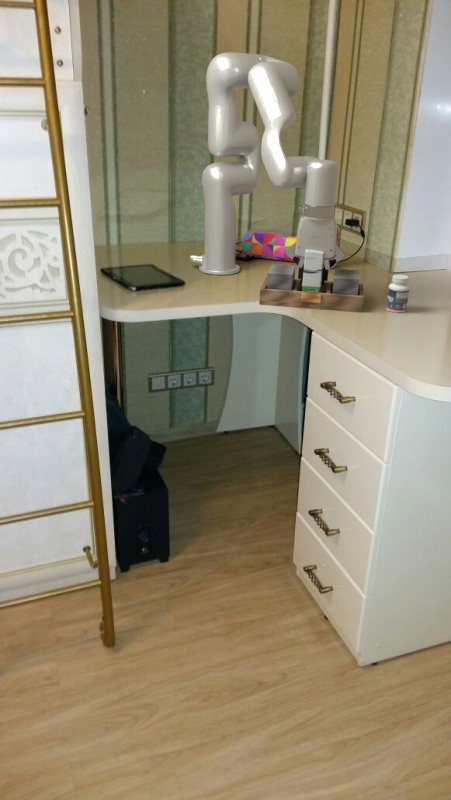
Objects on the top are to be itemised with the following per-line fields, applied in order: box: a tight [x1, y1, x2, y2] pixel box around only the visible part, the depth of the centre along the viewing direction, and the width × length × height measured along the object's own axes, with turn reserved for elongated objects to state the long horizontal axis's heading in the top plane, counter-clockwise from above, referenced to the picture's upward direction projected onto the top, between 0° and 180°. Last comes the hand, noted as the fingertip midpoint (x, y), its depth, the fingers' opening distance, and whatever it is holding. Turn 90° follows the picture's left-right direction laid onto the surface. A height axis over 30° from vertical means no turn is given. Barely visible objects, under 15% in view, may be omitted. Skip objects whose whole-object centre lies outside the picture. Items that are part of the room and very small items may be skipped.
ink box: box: [302, 250, 324, 293], centre depth 170 cm, size 9×5×12 cm, turn 169°
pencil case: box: [240, 229, 301, 263], centre depth 215 cm, size 22×9×9 cm, turn 75°
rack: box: [258, 264, 365, 313], centre depth 171 cm, size 26×14×8 cm, turn 80°
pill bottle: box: [385, 274, 410, 314], centre depth 166 cm, size 5×5×9 cm
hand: (312, 281), depth 171 cm, fingers closed on ink box, 5 cm apart
